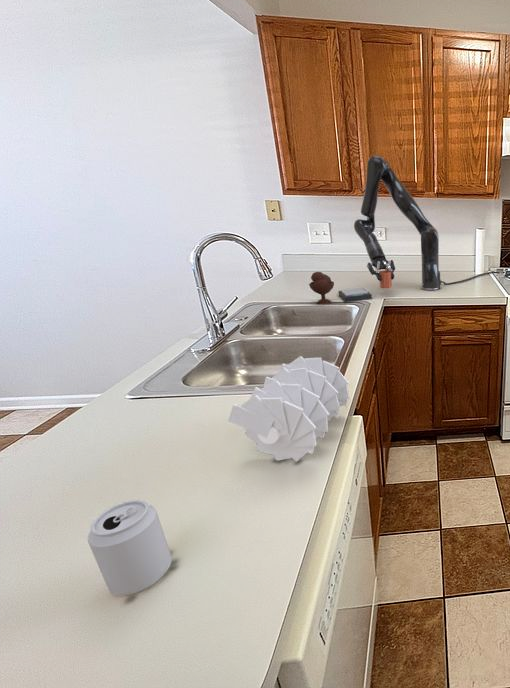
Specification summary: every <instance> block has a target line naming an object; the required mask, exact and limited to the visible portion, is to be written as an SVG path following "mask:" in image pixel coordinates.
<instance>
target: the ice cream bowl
mask: <svg viewBox="0 0 510 688" xmlns="http://www.w3.org/2000/svg"><path fill="white" fill-rule="evenodd" d="M310 279H311V282H309V283H308V285H309V288H310V290H312V291H313V292H314V293H316V294H318V295H320V297H321V299H319V300H318V301H317V304H319V305H327V304H329V303H331V300H329V299H328V298H326V294H329V293H330V292H331V291H332V290H333V288H334V286H335V282H334V281H332V278H331V277H330V276H329V275H328V274H325V273H323V272H322V271H315V272H313V273H312V274H311V276H310Z"/></svg>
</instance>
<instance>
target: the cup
mask: <svg viewBox="0 0 510 688" xmlns="http://www.w3.org/2000/svg"><path fill="white" fill-rule="evenodd" d="M378 273H380V276H381V278H382V280H381V281H379V280H378V281H379V282H378V283H379V288H380V289H384V290H385V289H386V290H387V289H392V288H393V279H392V278H391V271H389V270H385V269H382V270H379V272H378Z"/></svg>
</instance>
